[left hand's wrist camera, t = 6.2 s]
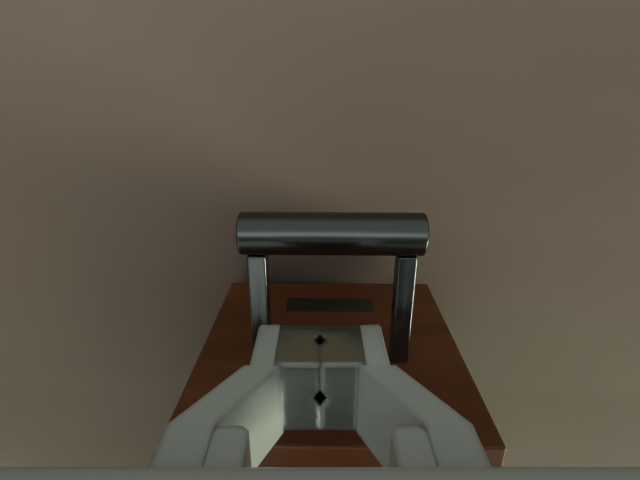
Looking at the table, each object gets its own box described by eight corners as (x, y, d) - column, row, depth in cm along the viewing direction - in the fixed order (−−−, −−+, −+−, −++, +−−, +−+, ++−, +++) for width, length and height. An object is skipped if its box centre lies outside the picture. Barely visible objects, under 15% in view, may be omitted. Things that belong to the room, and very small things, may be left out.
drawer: (222, 173, 18) (123, 265, 9) (439, 173, 18) (548, 268, 9) (252, 515, 26) (214, 740, 17) (401, 517, 26) (441, 745, 17)
